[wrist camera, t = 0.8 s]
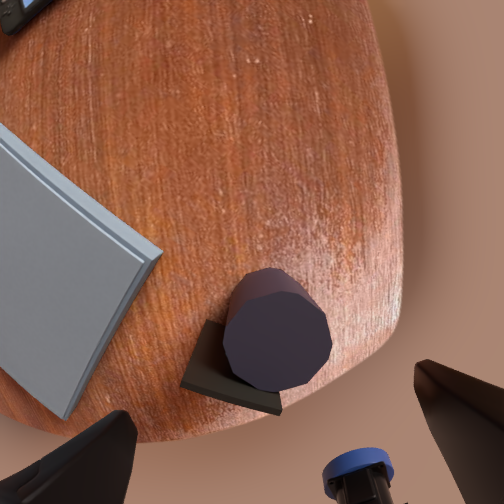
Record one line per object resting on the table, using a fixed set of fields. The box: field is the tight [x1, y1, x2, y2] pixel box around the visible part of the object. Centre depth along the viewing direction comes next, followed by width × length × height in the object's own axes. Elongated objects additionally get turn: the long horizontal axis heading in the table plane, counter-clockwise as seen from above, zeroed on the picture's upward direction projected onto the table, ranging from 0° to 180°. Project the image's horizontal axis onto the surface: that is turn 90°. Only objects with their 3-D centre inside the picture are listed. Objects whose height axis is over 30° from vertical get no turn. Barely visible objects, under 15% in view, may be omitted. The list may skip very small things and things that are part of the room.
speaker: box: [180, 267, 332, 416], centre depth 20 cm, size 8×6×10 cm
